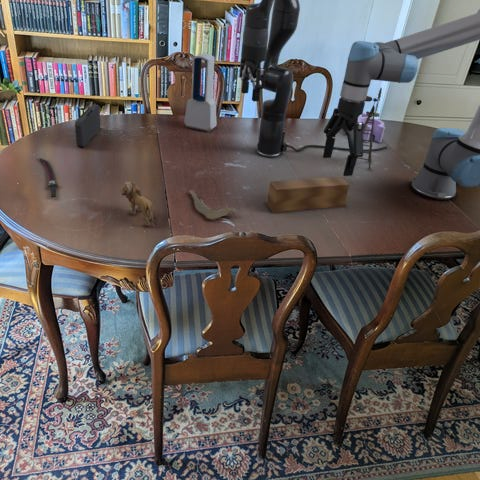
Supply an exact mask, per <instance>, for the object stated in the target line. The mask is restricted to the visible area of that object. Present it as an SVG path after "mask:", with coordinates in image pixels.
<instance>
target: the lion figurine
mask: <svg viewBox="0 0 480 480" xmlns="http://www.w3.org/2000/svg"><path fill="white" fill-rule="evenodd" d="M119 193H120V194H121V196H122V197H124V196H125V198H126V199H127V200H128V202H129V203H130V207H131V211H130V212H129V213H130V215H135V214H136V211H137V212H141V214H142V216H143V218H144V219H145V223H144V225H145V227H149V226H150V221H152V223H153V225H155V226H159V222H156V221H155V219H154V217H153V216H154V215H153V204H152V202H151V200H150V199H148V198H146V197H145V196H144V195H143V194H142V192H141V190H140V187H138V185H136V184H135V183H133V182H132V181H125V182H124V186H122V188H121V189H119ZM136 207H137V208H136ZM148 214H149V216H148Z"/></svg>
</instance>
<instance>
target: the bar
mask: <svg viewBox="0 0 480 480" xmlns="http://www.w3.org/2000/svg"><path fill="white" fill-rule="evenodd" d="M349 187H350V183H349V182H348V181H347V180H345V179H344V178H343V177H342V176H333V177H332V176H331V177H319V178H304V179H302V178H301V179H290V180H276V181H274V180H273V181H269V185H268V190H267V191H268V192H267V199H266V206H267V207H268V208H269V209H270V210H271V211H272V213H282V212H295V211H304V210H305V211H306V210H315V209H327V208H338V207H345V204H346V201H347V196H348V192H349V189H350V188H349Z"/></svg>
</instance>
